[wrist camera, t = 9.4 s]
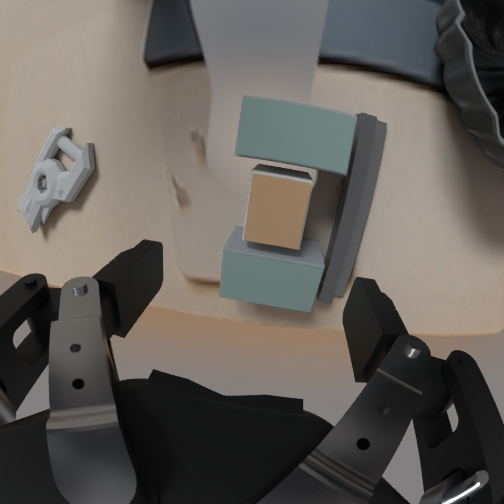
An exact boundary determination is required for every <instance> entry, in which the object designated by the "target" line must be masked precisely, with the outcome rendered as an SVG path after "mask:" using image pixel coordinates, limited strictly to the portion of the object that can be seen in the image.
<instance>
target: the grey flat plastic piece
mask: <svg viewBox="0 0 504 504" xmlns="http://www.w3.org/2000/svg"><path fill="white" fill-rule="evenodd" d="M70 130H71V128H64V127H54V129H53V131H52V132H51V134H50V136H49V138H48V139H47V141H46V143H45V145H44V147H43V149H42V151H41V153H40V154H39V155H38V156H37V158H36V159H35V160H34V162H36V163H35V165H34V168H33V172H32V176H31V179H30V181H29V184H28V185H27V188H26V190H25V193H24V195H23V196H22V197H21V198H20V201H19V209H18V211H21V212H22V214H23V215H24V217H25V218H26V220H27V222H28V224H29V226H30V229H31V231H32V233H34V232H36V231H37V230H38V227H39V225H40V223H41V221H43V224H45V222H46V220H47V218H48V216H49V215H50V213H51V211H52V209H53V208H54V207H55V206H57V205H58V204H59V202H60V201H61V202H72V201H75V199H76V197H77V196H78V194H79V192H80V191H81V189H82V187H83V186H84V184H85V183H86V181H87V180H88V178H89V177H90V175H91V173H92V172H93V170H94V169H95V161H94V152H93V143H87V144H86V146H85V147H84V149H82V148H80V147H79V146H78V145H77V144H75V143H74V142H73V141H72V140H70V139H69V138H68V137H67V134H68V133H69V131H70ZM59 148H60V149H61V150H63V151H64V152H65V153H66V154H67V155H69V156H70V157H71V158H72V159H74V160H75V161H76V162H75V163H74V165H73V167H72V168H71V170H70V171H66V170H65V169H64V167H63V165H62V164H61V162H60V161H58V160H57V159H55V158H54V157H55V155H56V153H57V151H58V150H59Z"/></svg>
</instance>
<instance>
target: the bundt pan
mask: <svg viewBox="0 0 504 504" xmlns="http://www.w3.org/2000/svg"><path fill="white" fill-rule="evenodd" d="M436 28H437V32H438V35H439V37H440V39H439V40H438V41H437V43H436V44H435V47H434V51H435V53H436V55H437V56H438V57H439V58H440V60H441V61H442V62H443V64H444V65H445V66H444V72H443V78H444V83H445V87H446V89H447V91H448V93H449V95H450V97H451V98H452V100H453V101H454V102H455V103H456V104H457V105H458V106H459V107H460V108H461V123H462V126H463V127H464V128H465V129H466V130H467V131H469V132H471V133H473V134H474V135H476V139H477V142H478V144H479V146H480V148H481V150H482V152H483V153H484V154H485V156H486V157H487V158H488V159H489V160H491V161H492V162H493V163H494V164H496V165H497V166H499V167H501V168H503V169H504V0H447V1H446V2H445V3H444V5H443V6H442V7H441V9H440V10H439V12H438V14H437V17H436Z"/></svg>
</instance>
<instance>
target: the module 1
mask: <svg viewBox="0 0 504 504" xmlns="http://www.w3.org/2000/svg"><path fill="white" fill-rule="evenodd" d="M356 121H357V116H354V115H350V114H346V113H342V112H338V111H334V110H330V109H325V108H321V107H316V106H311V105H306V104H300V103H295V102H288V101H282V100H276V99H269V98H261V97H251V96H243V100H242V107H241V114H240V121H239V128H238V135H237V142H236V150H235V156H241V157H248V158H255V159H262V160H268V161H274V162H281V163H286V164H292V165H297V166H303V167H308V168H312V169H317V170H322V171H327V172H331V173H336V174H340V175H345V176H347V171H348V166H349V161H350V156H351V151H352V145H353V139H354V133H355V127H356Z"/></svg>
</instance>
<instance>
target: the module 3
mask: <svg viewBox="0 0 504 504" xmlns="http://www.w3.org/2000/svg"><path fill="white" fill-rule="evenodd" d="M242 235H243V227H237V226H236V227H235V229H234V231H233V232H232V234H231V236H230V238H229V239H228V241H227V243H226V245H225V246H224V251H223V261H222V271H221V281H220V292H219V295H220V297H225V298H230V299H235V300H241V301H246V302H251V303H257V304H262V305H268V306H274V307H280V308H286V309H292V310H298V311H304V312H310V311H312V308H313V304H314V301H315V298H316V295H317V291H318V288H319V285H320V281H321V278H322V274H323V271H324V267H325V264H324V260H323V257H322V253H321V249H320V246H319V242H318V241H316V240H310V239H305V238H302V240H301V245H300V249H299V250H297V249H292V248H286V247H281V246H275V245H269V244H264V243H258V242H252V241H247V240H242Z"/></svg>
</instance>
